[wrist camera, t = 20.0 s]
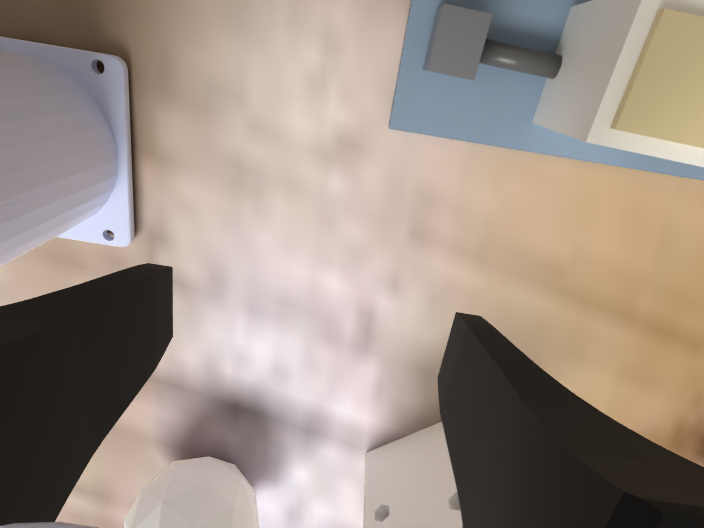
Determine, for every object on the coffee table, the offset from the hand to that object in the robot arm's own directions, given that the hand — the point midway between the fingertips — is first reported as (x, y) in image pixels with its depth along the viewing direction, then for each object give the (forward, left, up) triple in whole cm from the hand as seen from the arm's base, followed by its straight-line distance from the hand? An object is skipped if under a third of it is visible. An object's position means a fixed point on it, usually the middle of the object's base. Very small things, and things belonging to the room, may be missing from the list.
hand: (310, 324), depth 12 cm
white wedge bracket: (+7, -13, -10) cm, 18 cm away
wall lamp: (+7, +7, -9) cm, 13 cm away
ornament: (-5, -17, -10) cm, 20 cm away
